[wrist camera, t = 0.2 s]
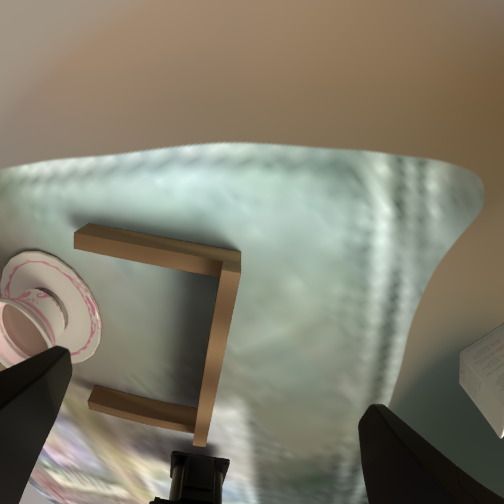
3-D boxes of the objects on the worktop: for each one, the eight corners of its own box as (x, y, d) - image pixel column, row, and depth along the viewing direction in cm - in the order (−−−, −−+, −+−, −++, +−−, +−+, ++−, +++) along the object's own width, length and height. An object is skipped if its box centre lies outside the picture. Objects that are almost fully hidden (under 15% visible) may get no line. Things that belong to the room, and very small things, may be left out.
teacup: (77, 238, 23) (37, 267, 17) (121, 359, 27) (100, 404, 21) (-12, 259, 23) (-50, 284, 18) (31, 360, 27) (5, 395, 22)
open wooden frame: (208, 417, 30) (205, 447, 26) (96, 392, 29) (84, 418, 25) (241, 251, 24) (241, 273, 20) (88, 223, 23) (63, 239, 19)
